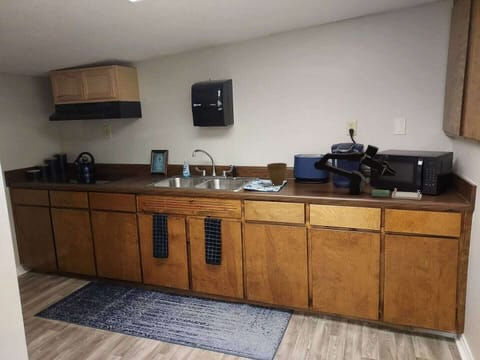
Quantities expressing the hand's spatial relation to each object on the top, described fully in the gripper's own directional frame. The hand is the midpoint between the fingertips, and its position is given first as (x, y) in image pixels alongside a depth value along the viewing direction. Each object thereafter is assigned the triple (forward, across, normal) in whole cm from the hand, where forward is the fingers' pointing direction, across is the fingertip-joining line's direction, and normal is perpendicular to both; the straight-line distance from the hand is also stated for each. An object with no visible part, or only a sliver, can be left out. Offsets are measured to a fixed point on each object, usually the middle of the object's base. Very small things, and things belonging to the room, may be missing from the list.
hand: (395, 174), depth 219 cm
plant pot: (-70, +14, +47) cm, 86 cm away
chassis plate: (+12, 0, +10) cm, 15 cm away
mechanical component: (-13, +6, +21) cm, 25 cm away
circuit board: (-2, 0, +16) cm, 16 cm away
